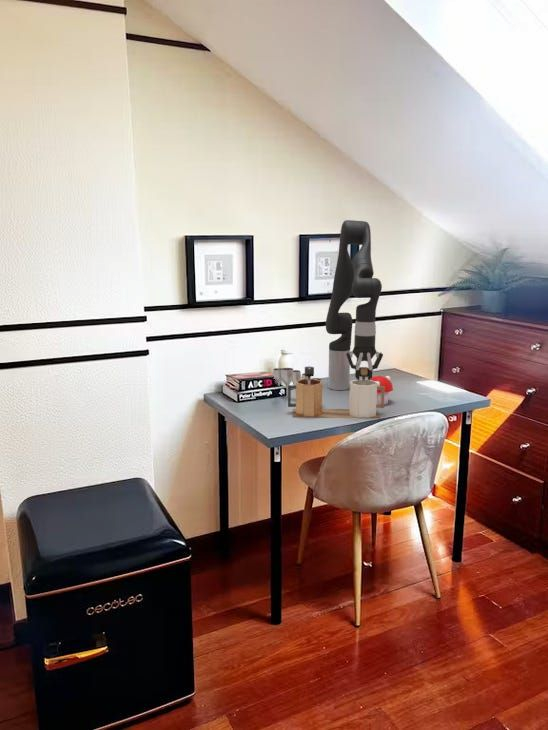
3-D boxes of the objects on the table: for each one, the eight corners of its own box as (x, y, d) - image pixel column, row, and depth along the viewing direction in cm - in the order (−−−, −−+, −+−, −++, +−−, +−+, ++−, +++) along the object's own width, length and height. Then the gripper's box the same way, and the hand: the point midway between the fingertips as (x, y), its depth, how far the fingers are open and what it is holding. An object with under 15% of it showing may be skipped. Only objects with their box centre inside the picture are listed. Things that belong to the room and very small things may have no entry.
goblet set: (269, 397, 257) (269, 366, 254) (280, 394, 261) (280, 364, 258) (314, 412, 236) (315, 378, 233) (325, 409, 239) (326, 376, 236)
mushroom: (366, 408, 240) (367, 379, 238) (363, 401, 251) (364, 372, 248) (394, 409, 240) (395, 379, 237) (389, 401, 251) (390, 372, 248)
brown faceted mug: (288, 409, 236) (288, 378, 233) (321, 409, 235) (321, 378, 232) (287, 416, 226) (287, 385, 224) (322, 417, 226) (322, 385, 223)
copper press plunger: (299, 407, 234) (300, 365, 230) (317, 407, 233) (318, 365, 230) (299, 412, 227) (300, 369, 224) (317, 412, 227) (318, 369, 223)
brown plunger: (352, 408, 233) (354, 365, 229) (370, 408, 233) (371, 366, 229) (354, 413, 227) (355, 369, 223) (372, 413, 226) (374, 370, 223)
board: (292, 411, 236) (292, 408, 236) (376, 412, 235) (376, 409, 235) (292, 420, 226) (292, 417, 225) (380, 421, 225) (380, 418, 224)
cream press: (348, 409, 235) (349, 379, 232) (381, 410, 234) (382, 379, 232) (350, 417, 225) (351, 385, 223) (385, 417, 225) (386, 386, 222)
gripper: (383, 331, 227) (381, 377, 230) (344, 331, 227) (343, 377, 231) (386, 335, 219) (384, 382, 223) (346, 335, 220) (345, 382, 224)
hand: (363, 379), depth 227 cm, fingers closed on brown plunger, 3 cm apart
